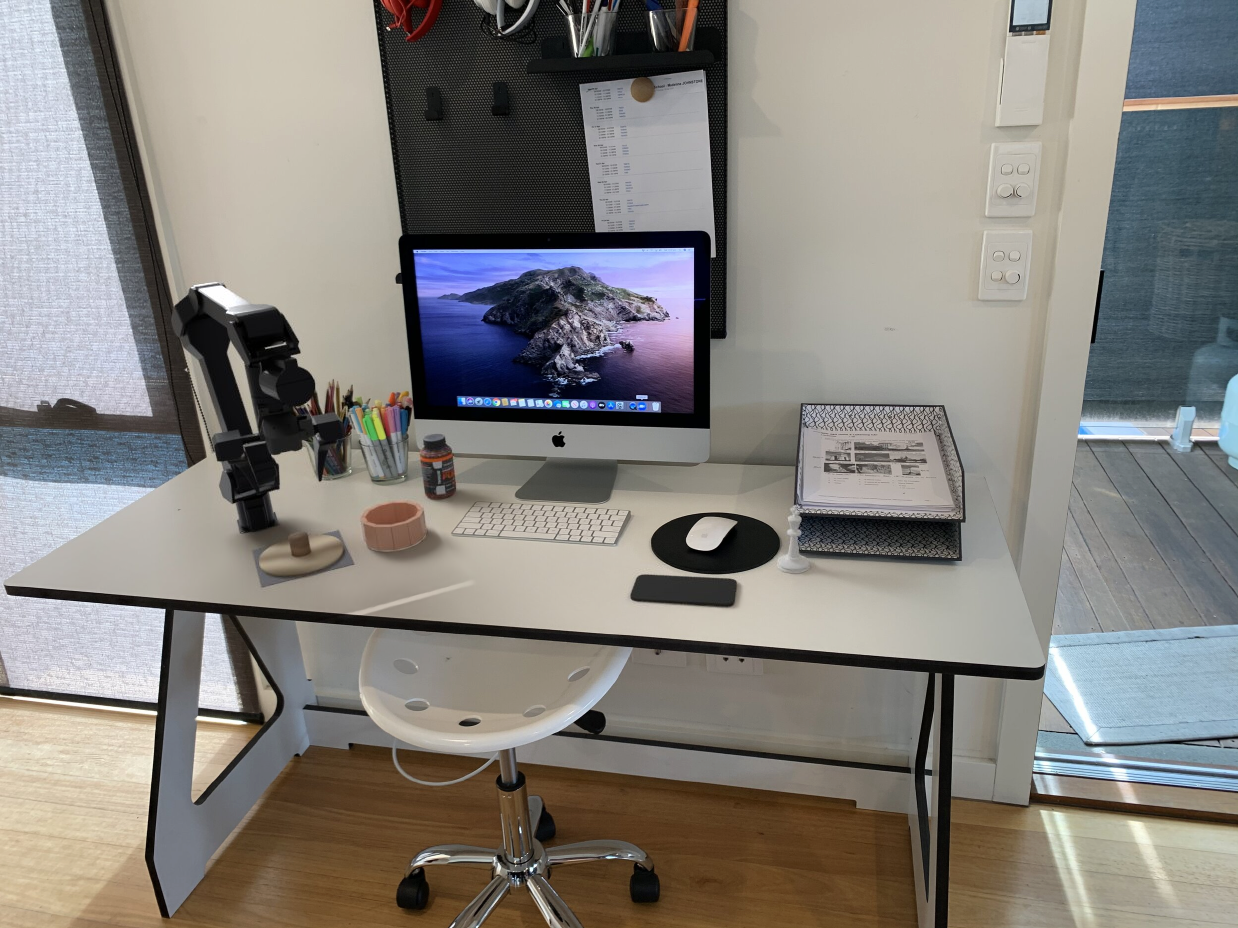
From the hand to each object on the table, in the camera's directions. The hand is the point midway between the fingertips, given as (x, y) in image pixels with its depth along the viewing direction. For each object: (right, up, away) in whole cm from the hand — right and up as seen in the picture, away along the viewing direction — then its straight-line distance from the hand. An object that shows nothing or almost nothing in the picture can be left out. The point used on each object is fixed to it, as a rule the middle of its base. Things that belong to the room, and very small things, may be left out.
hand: (289, 487), depth 140 cm
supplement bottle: (+18, -2, +27) cm, 33 cm away
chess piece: (+78, -12, -4) cm, 79 cm away
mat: (0, -12, +5) cm, 13 cm away
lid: (0, -11, +5) cm, 12 cm away
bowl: (+14, -9, +10) cm, 20 cm away
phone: (+61, -15, -9) cm, 64 cm away
